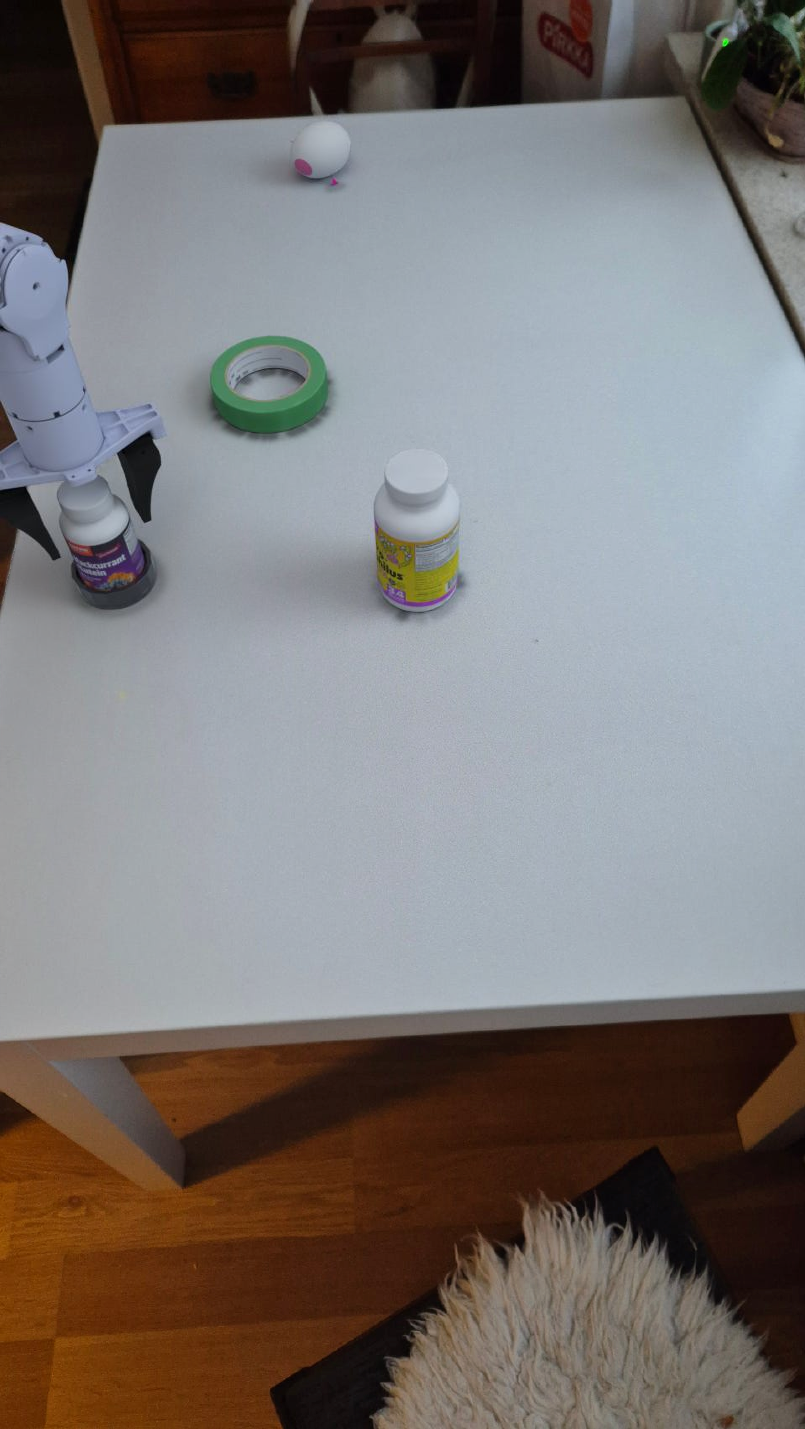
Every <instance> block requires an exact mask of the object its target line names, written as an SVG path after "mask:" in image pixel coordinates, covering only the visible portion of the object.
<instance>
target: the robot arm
mask: <svg viewBox="0 0 805 1429" xmlns="http://www.w3.org/2000/svg"><path fill="white" fill-rule="evenodd" d="M68 272H69V271H68V267H67V263H66V260H65V259H60V258H59V257H57V256H56V255H55V254H54V251H53V250H52V248H51V246H50V245H49V243H48V242H45V241H44V239H43V238H42V237H40V236H39V235H37V234H34V233H33V232H29V231H26V230H23V229H20V228H18V227H15V226H11V225H9V224H7V223H3V222H0V403H1V405H2V407H3V410H4V412H5V414H6V416H7V418H8V421H9V423H10V425H11V428H12V430H13V432H14V434H15V437H16V440H15V441H14V442H12V443H11V444H9V445H8V446H6V447H5V448H3V449H2V450H1V451H0V516H1V518H2V519H3V520H4V521H5V522H6V523H7V524H8V525H9V526H11V527H14V528H15V529H18V530H19V531H21V532H23V533H25V534H26V535H28V536H29V537H30V538H31V539H33V540H34V541H35V542H36V543H37V544H38V545H39V546H40V547H41V548H42V549H43V550H45V552H46V553H47V554H48V556H49V557H50V559H51V560H52V561H56V560H59V559H62V556H61V553H60V551H59V549H58V547H57V546H56V543H55V541H54V540H53V538H52V536H51V534H50V533H49V530H48V529H47V527H46V526H45V524H44V522H43V521H44V520H43V519H42V517H41V514H40V511H39V509H38V508H37V506H36V504H35V502H34V500H33V498H32V496H31V494H30V492H29V490H28V489H27V487H28V486H29V487H30V486H37V485H43V484H51V483H57V482H58V483H59V482H64V481H67V482H68V483H69V485H70V486H73V487H77V486H80V485H83V484H85V483H88V482H90V481H93V480H94V479H96V477H97V475H98V472H97V470H96V469H97V468H99V467H100V466H101V465H103V464H104V463H106V462H107V461H108V460H109V459H111V458H112V457H113V456H115V455H117V459H118V461H119V463H120V466H121V469H122V471H123V474H124V478H125V482H126V486H127V490H128V494H129V497H130V500H131V502H132V505H133V508H134V509H135V511H136V513H137V514H138V516H139V517H140V520H141V521H142V522H143V524H147V523H149V522H151V521H152V518H153V517H152V497H153V496H152V495H153V489H154V484H155V481H156V478H157V475H158V472H159V470H160V469H161V467H162V457H161V456H162V455H161V453H160V450H159V448H158V447H157V445H156V443H155V442H154V440H160V439H163V438H165V437H167V430H166V428H165V424H164V420H163V417H162V415H161V412H159V410H158V408H157V407H156V406H155V404H154V402H153V401H148V402H144V403H142V404H138V405H134V406H129V407H122V408H116V409H107V410H100V411H95V408H94V405H93V401H92V400H91V397H90V394H89V390H88V387H87V385H86V382H85V379H84V376H83V373H82V371H81V368H80V365H79V362H78V359H77V356H76V354H75V351H74V348H73V345H72V342H71V339H70V330H69V329H70V328H71V327H72V326H71V322H70V320H69V317H68V314H67V309H66V308H67V306H66V304H67V297H68V290H69V273H68Z"/></svg>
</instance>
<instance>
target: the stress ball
mask: <svg viewBox="0 0 805 1429" xmlns="http://www.w3.org/2000/svg"><path fill="white" fill-rule="evenodd" d="M290 142H291V145H290V148H289V149H290V150H289V156H290V157H289V158H290V161H291V164H292V166H293V167H294V169H295V170H296V171H297V172H298V173H299V174H300V175H302V176H304V177H307V178H311V179H323V178H324V179H325V178H327V177H330V176H331V179H332V182H331V186H334V185H336V184H339V183H340V182H338V181H337V180H336V179H335V178H334V174H336V173H338V172H339V171H340V170H341V169H342V168H343V167H344V166H345V165H346V164H347V162H348V160H349V158H350V155H351V152H352V142H351V138H350V135H349V134H348V132H347V130H346V129H345V128H344V127H343V126H342V125H340V124H339V123H336V122H334V121H329V120H319V121H315V122H312V123H309V124H307V125H306V126H304V127H302V129H301V130H299V131H298V132H297V134H296V135H295V136H294V138H293V140H290Z"/></svg>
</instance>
